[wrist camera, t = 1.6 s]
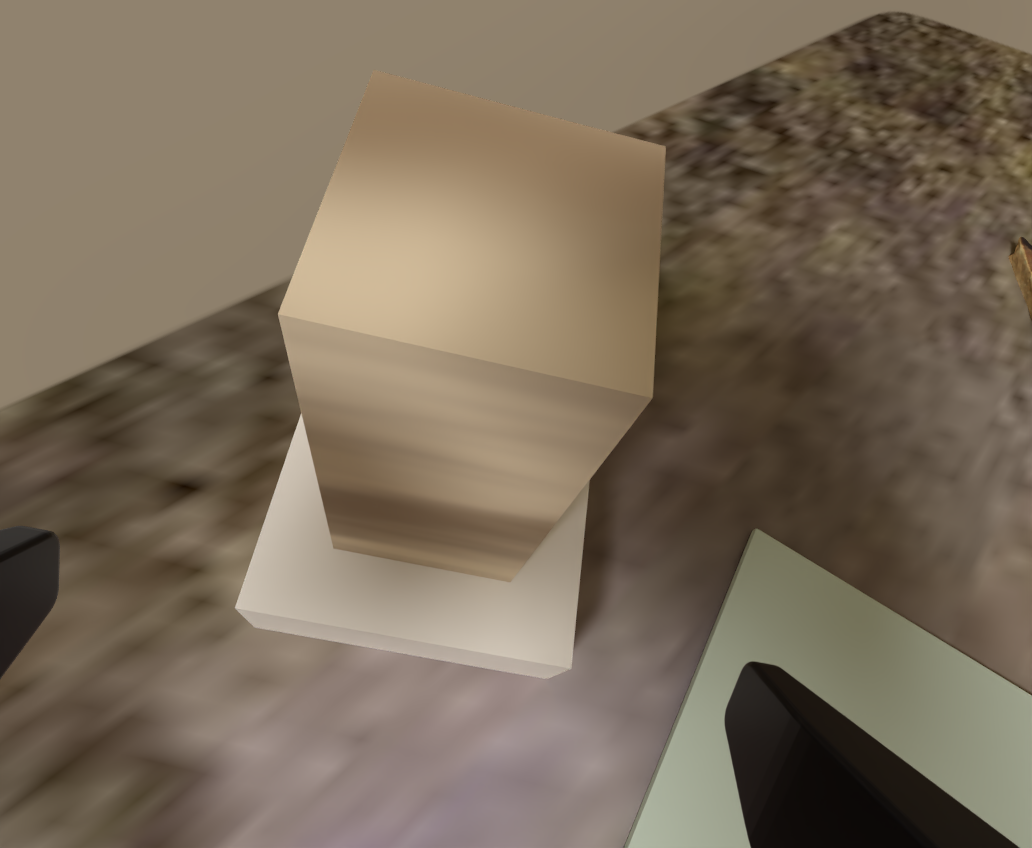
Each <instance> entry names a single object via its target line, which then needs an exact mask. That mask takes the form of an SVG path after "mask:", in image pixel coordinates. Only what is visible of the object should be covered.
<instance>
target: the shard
mask: <svg viewBox="0 0 1032 848" xmlns="http://www.w3.org/2000/svg"><path fill="white" fill-rule="evenodd" d="M1009 260H1010V262H1011V265H1012V268H1013V271H1014V273H1015V277H1016V280H1017V282H1018V284H1019V287H1020V289H1021V291H1022V293H1023V296H1024V299H1025V301H1026V303H1027V306H1028V309H1029V312H1030V316H1031V320H1032V245H1031V244H1029V243H1028V241H1027V240H1026V239H1025V238H1023V237H1020V238H1019V241H1018V245H1017V247H1016V249H1015V252H1014V253H1013V254H1012V255H1010V256H1009Z"/></svg>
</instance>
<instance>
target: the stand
mask: <svg viewBox="0 0 1032 848" xmlns="http://www.w3.org/2000/svg"><path fill="white" fill-rule="evenodd" d="M589 482H590V480H589V481H588V482H587V484H586V485H585V486H584V488H583V489H582V490H581V491H580V493H579V494H578V495H577V497H576V498H575V499H574V501H573V502H572V503H571V504H570V506H569V507H568V508H567V510H566V511H565V512H564V513H563V515H562V516H561V517H560V519H559V520H558V521H557V523H556V524H555V525H554V526H553V528H552V529H551V530H550V532H549V533H548V534H547V535H546V537H545V538H544V539H543V541H542V542H541V543H540V545H539V546H538V547H537V548H536V550H535V551H534V552H533V554H532V555H531V556H530V557H529V559H528V560H527V561H526V563H525V564H524V565H523V567H522V568H521V569H520V570H519V572H518V573H517V574H516V576H515V577H514V578H513V579H512V581H511V582H506V581H501V580H495V579H490V578H485V577H480V576H474V575H469V574H464V573H459V572H454V571H448V570H443V569H438V568H433V567H427V566H422V565H417V564H412V563H406V562H401V561H396V560H391V559H386V558H380V557H375V556H370V555H365V554H359V553H354V552H349V551H344V550H338V549H333V544H332V540H331V536H330V532H329V528H328V523H327V519H326V515H325V511H324V506H323V502H322V498H321V494H320V489H319V485H318V481H317V477H316V473H315V468H314V464H313V460H312V456H311V451H310V447H309V443H308V439H307V435H306V430H305V426H304V422H303V418H302V413H301V416H300V419H299V422H298V425H297V428H296V431H295V433H294V436H293V439H292V442H291V445H290V448H289V451H288V454H287V457H286V460H285V463H284V466H283V469H282V472H281V475H280V477H279V480H278V483H277V486H276V489H275V492H274V495H273V498H272V501H271V504H270V507H269V510H268V513H267V516H266V519H265V522H264V524H263V527H262V530H261V533H260V536H259V539H258V542H257V545H256V548H255V551H254V554H253V557H252V560H251V563H250V566H249V569H248V571H247V574H246V577H245V580H244V583H243V586H242V589H241V592H240V595H239V598H238V601H237V604H236V607H235V609H236V610H237V611H238V612H239V613H240V614H241V615H242V616H243V617H244V618H246V619H247V620H248V621H249V622H250V623H251V624H252V625H253V626H254V627H255V628H261V629H267V630H272V631H278V632H283V633H289V634H295V635H300V636H306V637H312V638H317V639H323V640H329V641H334V642H340V643H345V644H351V645H357V646H362V647H368V648H374V649H379V650H385V651H391V652H396V653H402V654H407V655H413V656H419V657H424V658H430V659H436V660H441V661H447V662H453V663H458V664H464V665H469V666H475V667H481V668H486V669H492V670H498V671H503V672H509V673H514V674H520V675H526V676H531V677H537V678H543V679H548V678H551V677H553V676H555V675H558V674H560V673H562V672H565V671H567V670H569V669H571V666H572V656H573V645H574V635H575V625H576V615H577V605H578V594H579V584H580V574H581V564H582V554H583V543H584V533H585V523H586V513H587V503H588V492H589Z"/></svg>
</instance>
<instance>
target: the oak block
mask: <svg viewBox="0 0 1032 848" xmlns="http://www.w3.org/2000/svg"><path fill="white" fill-rule="evenodd" d="M665 153H666V147H665V146H661V145H657V144H653V143H650V142H646V141H642V140H638V139H634V138H631V137H627V136H623V135H619V134H615V133H612V132H608V131H604V130H600V129H596V128H593V127H589V126H585V125H581V124H577V123H574V122H570V121H566V120H562V119H559V118H555V117H551V116H547V115H543V114H539V113H536V112H532V111H528V110H524V109H521V108H516V107H513V106H509V105H505V104H501V103H498V102H494V101H490V100H486V99H483V98H479V97H475V96H471V95H467V94H464V93H460V92H456V91H452V90H448V89H445V88H441V87H437V86H433V85H429V84H426V83H421V82H418V81H414V80H410V79H407V78H403V77H399V76H395V75H392V74H388V73H384V72H380V71H376V70H373V73H372V75H371V78H370V81H369V83H368V86H367V88H366V91H365V93H364V96H363V98H362V101H361V104H360V106H359V109H358V111H357V114H356V116H355V119H354V121H353V124H352V127H351V129H350V132H349V134H348V137H347V139H346V142H345V144H344V147H343V150H342V152H341V155H340V157H339V160H338V162H337V165H336V167H335V170H334V172H333V175H332V178H331V180H330V183H329V185H328V188H327V190H326V193H325V195H324V198H323V201H322V203H321V206H320V208H319V211H318V213H317V216H316V218H315V221H314V224H313V226H312V229H311V231H310V234H309V237H308V239H307V241H306V244H305V247H304V249H303V252H302V254H301V257H300V259H299V262H298V264H297V267H296V269H295V272H294V275H293V277H292V280H291V282H290V285H289V287H288V290H287V292H286V295H285V298H284V300H283V303H282V305H281V308H280V310H279V313H278V316H279V321H280V325H281V329H282V333H283V337H284V342H285V346H286V350H287V354H288V359H289V363H290V367H291V371H292V375H293V380H294V384H295V388H296V392H297V397H298V401H299V405H300V409H301V413H302V418H303V422H304V426H305V430H306V435H307V439H308V443H309V447H310V451H311V456H312V460H313V464H314V468H315V473H316V477H317V481H318V485H319V489H320V494H321V498H322V502H323V506H324V511H325V515H326V519H327V523H328V528H329V532H330V536H331V540H332V544H333V549H338V550H344V551H349V552H354V553H359V554H365V555H370V556H375V557H380V558H386V559H391V560H396V561H401V562H406V563H412V564H417V565H422V566H427V567H433V568H438V569H443V570H448V571H454V572H459V573H464V574H469V575H474V576H480V577H485V578H490V579H495V580H501V581H506V582H511V581H512V579H513V578H514V577H515V576H516V574H517V573H518V572H519V570H520V569H521V568H522V567H523V565H524V564H525V563H526V561H527V560H528V559H529V557H530V556H531V555H532V554H533V552H534V551H535V550H536V548H537V547H538V546H539V545H540V543H541V542H542V541H543V539H544V538H545V537H546V535H547V534H548V533H549V532H550V530H551V529H552V528H553V526H554V525H555V524H556V523H557V521H558V520H559V519H560V517H561V516H562V515H563V513H564V512H565V511H566V510H567V508H568V507H569V506H570V504H571V503H572V502H573V501H574V499H575V498H576V497H577V495H578V494H579V493H580V491H581V490H582V489H583V488H584V486H585V485H586V484H587V482H588V481H589V480H590V479H591V477H592V476H593V475H594V473H595V472H596V471H597V470H598V468H599V467H600V466H601V464H602V463H603V462H604V460H605V459H606V458H607V457H608V455H609V454H610V453H611V451H612V450H613V449H614V448H615V446H616V445H617V444H618V442H619V441H620V440H621V438H622V437H623V436H624V435H625V433H626V432H627V431H628V429H629V428H630V427H631V426H632V424H633V423H634V422H635V420H636V419H637V418H638V416H639V415H640V414H641V413H642V411H643V410H644V409H645V407H646V406H647V405H648V404H649V402H650V401H651V400H652V398H653V383H654V364H655V344H656V325H657V306H658V287H659V268H660V249H661V229H662V210H663V191H664V172H665Z"/></svg>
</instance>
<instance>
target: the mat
mask: <svg viewBox="0 0 1032 848" xmlns="http://www.w3.org/2000/svg"><path fill="white" fill-rule="evenodd" d="M751 661H755V662H761V663H766V664H772V665H776V666H779V667H780V668H782V669H783V670H785V671H786V672H787V673H789V674H790V675H791V676H792V677H794V678H795V679H796V680H798V681H799V682H800V683H802V684H803V685H804V686H806V687H807V688H808V689H810V690H811V691H812V692H814V693H815V694H816V695H818V696H819V697H820V698H822V699H823V700H824V701H826V702H827V703H828V704H830V705H831V706H832V707H834V708H835V709H836V710H838V711H839V712H840V713H842V714H843V715H844V716H846V717H847V718H848V719H850V720H851V721H852V722H854V723H855V724H856V725H858V726H859V727H860V728H862V729H863V730H864V731H866V732H867V733H868V734H870V735H871V736H872V737H874V738H875V739H876V740H878V741H879V742H880V743H882V744H883V745H884V746H885V747H887V748H888V749H889V750H891V751H892V752H893V753H895V754H896V755H897V756H899V757H900V758H901V759H903V760H904V761H905V762H907V763H908V764H909V765H911V766H912V767H913V768H915V769H916V770H917V771H919V772H920V773H921V774H923V775H924V776H925V777H927V778H928V779H929V780H931V781H932V782H933V783H935V784H936V785H937V786H939V787H940V788H941V789H943V790H944V791H945V792H947V793H948V794H949V795H951V796H952V797H953V798H955V799H956V800H957V801H959V802H960V803H961V804H963V805H964V806H965V807H967V808H968V809H969V810H971V811H972V812H973V813H975V814H976V815H977V816H978V817H980V818H981V819H982V820H984V821H985V822H986V823H988V824H989V825H990V826H992V827H993V828H994V829H996V830H997V831H998V832H1000V833H1001V834H1002V835H1004V836H1005V837H1006V838H1008V839H1009V840H1010V841H1012V842H1013V843H1014V844H1016V845H1017V846H1018V847H1020V848H1032V695H1030V694H1028V693H1027V692H1025V691H1023V690H1022V689H1020V688H1019V687H1017V686H1015V685H1014V684H1012V683H1010V682H1009V681H1007V680H1005V679H1004V678H1002V677H1000V676H999V675H997V674H996V673H994V672H992V671H991V670H989V669H987V668H986V667H984V666H982V665H981V664H979V663H977V662H976V661H974V660H973V659H971V658H969V657H968V656H966V655H964V654H963V653H961V652H959V651H958V650H956V649H954V648H953V647H951V646H949V645H948V644H946V643H945V642H943V641H941V640H940V639H938V638H936V637H935V636H933V635H931V634H930V633H928V632H926V631H925V630H923V629H922V628H920V627H918V626H917V625H915V624H913V623H912V622H910V621H908V620H907V619H905V618H903V617H902V616H900V615H899V614H897V613H895V612H894V611H892V610H890V609H889V608H887V607H885V606H884V605H882V604H880V603H879V602H877V601H875V600H874V599H872V598H871V597H869V596H867V595H866V594H864V593H862V592H861V591H859V590H857V589H856V588H854V587H852V586H851V585H849V584H848V583H846V582H844V581H843V580H841V579H839V578H838V577H836V576H834V575H833V574H831V573H829V572H828V571H826V570H825V569H823V568H821V567H820V566H818V565H816V564H815V563H813V562H811V561H810V560H808V559H806V558H805V557H803V556H801V555H800V554H798V553H797V552H795V551H793V550H792V549H790V548H788V547H787V546H785V545H783V544H782V543H780V542H778V541H777V540H775V539H774V538H772V537H770V536H769V535H767V534H765V533H764V532H762V531H760V530H759V529H757V528H756V529H754V530H752V532H751V535H750V537H749V540H748V542H747V545H746V547H745V550H744V552H743V555H742V557H741V560H740V562H739V565H738V567H737V570H736V572H735V574H734V577H733V579H732V582H731V584H730V587H729V589H728V592H727V594H726V597H725V599H724V602H723V604H722V607H721V609H720V612H719V614H718V616H717V619H716V621H715V624H714V626H713V629H712V631H711V634H710V636H709V639H708V641H707V644H706V646H705V649H704V651H703V654H702V656H701V658H700V661H699V663H698V666H697V668H696V671H695V673H694V676H693V678H692V681H691V683H690V686H689V688H688V691H687V693H686V696H685V698H684V700H683V703H682V705H681V708H680V710H679V713H678V715H677V718H676V720H675V723H674V725H673V728H672V730H671V733H670V735H669V738H668V740H667V742H666V745H665V747H664V750H663V752H662V755H661V757H660V760H659V762H658V765H657V767H656V770H655V772H654V775H653V777H652V780H651V782H650V784H649V787H648V789H647V792H646V794H645V797H644V799H643V802H642V804H641V807H640V809H639V812H638V814H637V817H636V819H635V822H634V824H633V826H632V829H631V831H630V834H629V836H628V839H627V841H626V844H625V846H624V848H751V847H750V843H749V840H748V836H747V831H746V827H745V823H744V818H743V813H742V809H741V804H740V799H739V794H738V789H737V784H736V779H735V775H734V770H733V765H732V760H731V755H730V750H729V745H728V740H727V736H726V731H725V722H724V718H725V711H726V707H727V704H728V702H729V699H730V697H731V694H732V692H733V690H734V687H735V685H736V682H737V680H738V677H739V675H740V672H741V670H742V668H743V667H744V665H745V664H746V663H748V662H751Z"/></svg>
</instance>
